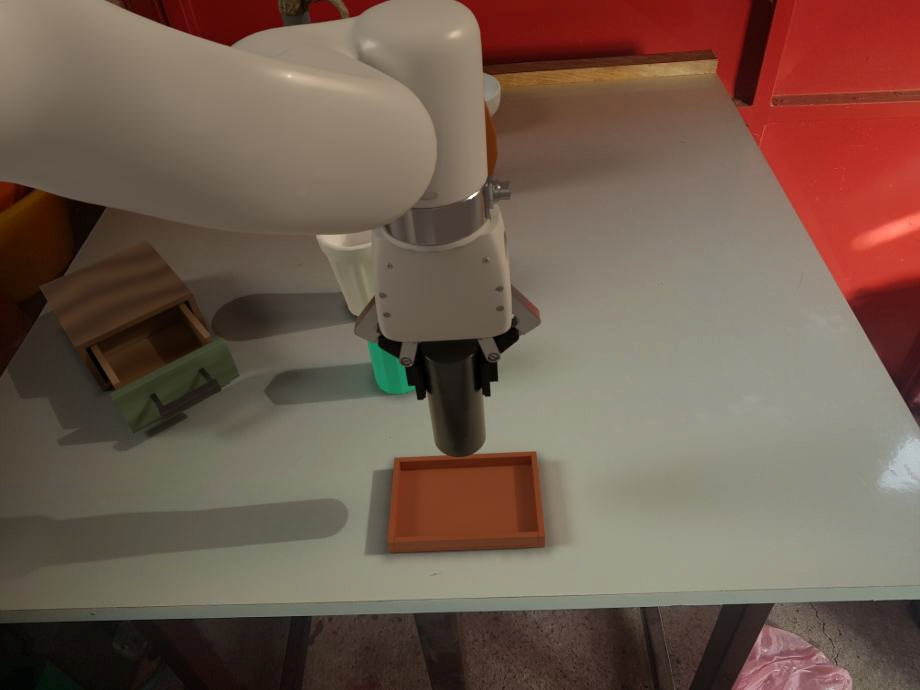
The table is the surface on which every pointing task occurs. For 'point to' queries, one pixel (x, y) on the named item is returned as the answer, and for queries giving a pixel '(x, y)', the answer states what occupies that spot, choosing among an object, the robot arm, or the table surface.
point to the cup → (351, 266)
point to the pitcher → (304, 11)
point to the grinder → (454, 395)
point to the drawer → (164, 366)
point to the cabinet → (115, 299)
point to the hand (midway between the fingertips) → (454, 384)
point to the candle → (388, 371)
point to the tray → (466, 503)
